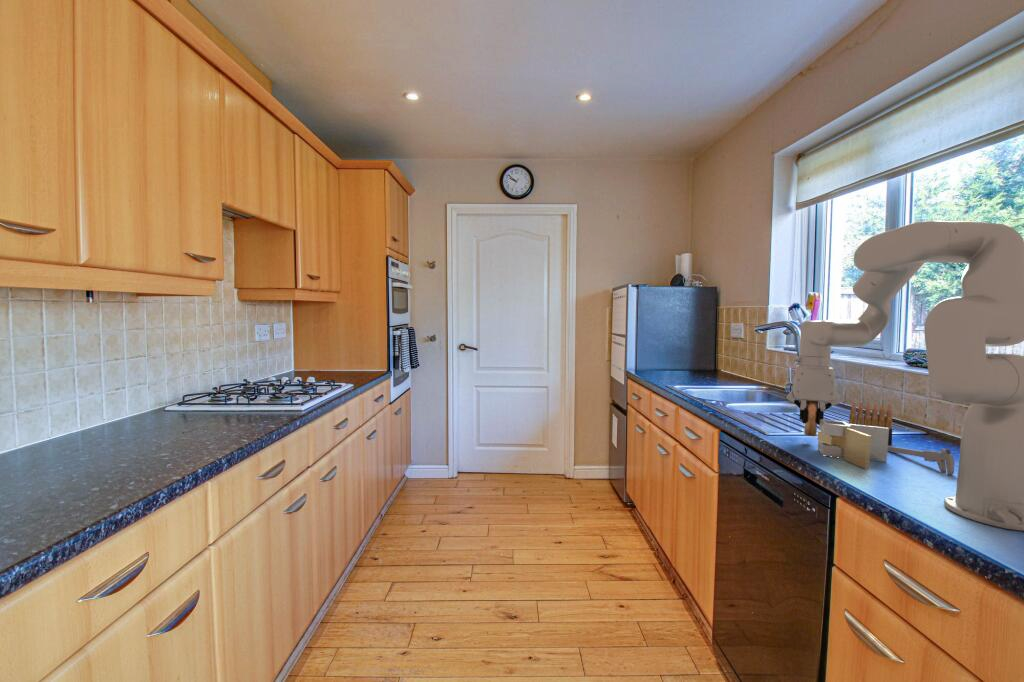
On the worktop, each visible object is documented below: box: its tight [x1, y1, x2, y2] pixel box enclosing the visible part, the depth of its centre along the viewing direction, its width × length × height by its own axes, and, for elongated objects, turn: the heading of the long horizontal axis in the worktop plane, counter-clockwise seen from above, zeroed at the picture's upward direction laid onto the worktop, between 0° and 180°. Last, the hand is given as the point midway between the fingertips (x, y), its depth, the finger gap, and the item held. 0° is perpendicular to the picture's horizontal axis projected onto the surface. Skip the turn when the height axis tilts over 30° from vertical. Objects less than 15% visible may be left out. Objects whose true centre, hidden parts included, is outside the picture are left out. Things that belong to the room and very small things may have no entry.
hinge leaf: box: [817, 428, 871, 470], centre depth 114 cm, size 14×5×8 cm, turn 0°
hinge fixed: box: [817, 418, 889, 463], centre depth 116 cm, size 6×14×9 cm, turn 64°
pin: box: [803, 400, 819, 437], centre depth 128 cm, size 3×3×12 cm
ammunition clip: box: [848, 402, 893, 446], centre depth 131 cm, size 11×2×12 cm, turn 68°
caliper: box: [887, 445, 956, 475], centre depth 115 cm, size 20×1×6 cm, turn 178°
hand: (811, 422), depth 128 cm, fingers closed on pin, 3 cm apart
